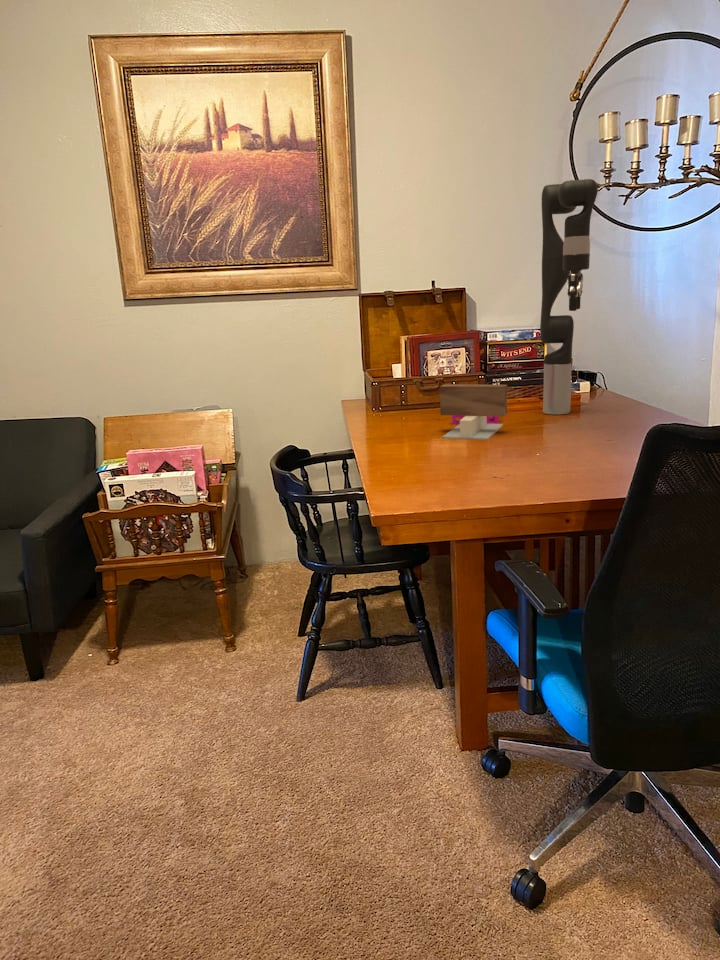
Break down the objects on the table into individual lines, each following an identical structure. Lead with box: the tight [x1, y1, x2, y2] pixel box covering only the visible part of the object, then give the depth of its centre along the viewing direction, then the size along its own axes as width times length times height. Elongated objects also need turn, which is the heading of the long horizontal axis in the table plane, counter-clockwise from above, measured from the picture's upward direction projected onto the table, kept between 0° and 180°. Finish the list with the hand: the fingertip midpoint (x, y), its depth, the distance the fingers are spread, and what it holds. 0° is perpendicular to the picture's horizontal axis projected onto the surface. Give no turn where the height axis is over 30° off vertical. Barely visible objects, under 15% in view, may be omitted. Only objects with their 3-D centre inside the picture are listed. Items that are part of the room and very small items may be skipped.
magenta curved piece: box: [451, 415, 499, 425], centre depth 231 cm, size 15×6×8 cm, turn 86°
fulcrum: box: [441, 416, 504, 441], centre depth 216 cm, size 22×14×6 cm, turn 157°
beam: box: [439, 383, 508, 418], centre depth 214 cm, size 4×20×9 cm, turn 67°
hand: (574, 310), depth 206 cm, fingers open, 8 cm apart
